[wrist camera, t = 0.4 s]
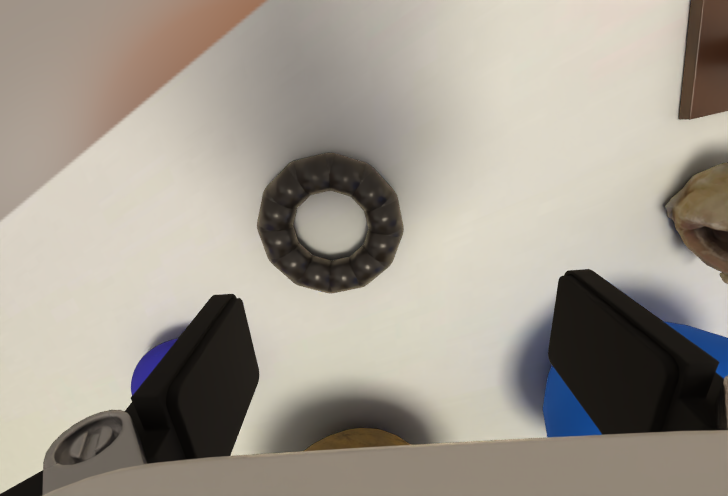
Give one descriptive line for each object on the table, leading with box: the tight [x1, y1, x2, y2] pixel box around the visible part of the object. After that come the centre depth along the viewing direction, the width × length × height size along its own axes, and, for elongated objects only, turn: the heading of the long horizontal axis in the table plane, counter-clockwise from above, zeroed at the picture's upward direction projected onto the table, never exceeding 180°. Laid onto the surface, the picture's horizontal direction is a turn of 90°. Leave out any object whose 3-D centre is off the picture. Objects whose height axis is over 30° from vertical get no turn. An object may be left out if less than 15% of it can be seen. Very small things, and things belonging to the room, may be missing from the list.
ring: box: [257, 153, 403, 293], centre depth 29 cm, size 12×12×3 cm
